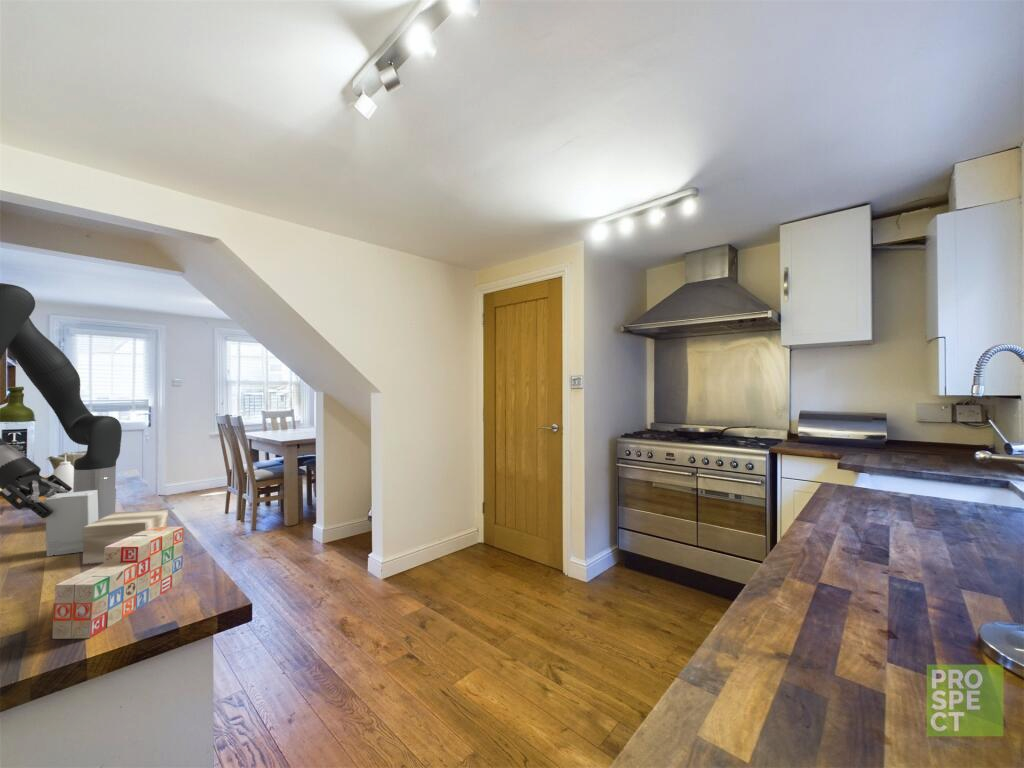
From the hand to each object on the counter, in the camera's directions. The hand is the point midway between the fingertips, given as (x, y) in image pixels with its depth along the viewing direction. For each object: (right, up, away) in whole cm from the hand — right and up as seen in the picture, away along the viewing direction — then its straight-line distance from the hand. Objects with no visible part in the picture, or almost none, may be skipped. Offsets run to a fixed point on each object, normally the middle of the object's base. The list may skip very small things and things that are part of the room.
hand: (62, 510), depth 106 cm
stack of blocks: (+40, -11, -26) cm, 49 cm away
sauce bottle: (-43, -11, +40) cm, 60 cm away
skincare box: (+2, -11, 0) cm, 11 cm away
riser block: (+17, -11, 0) cm, 20 cm away
